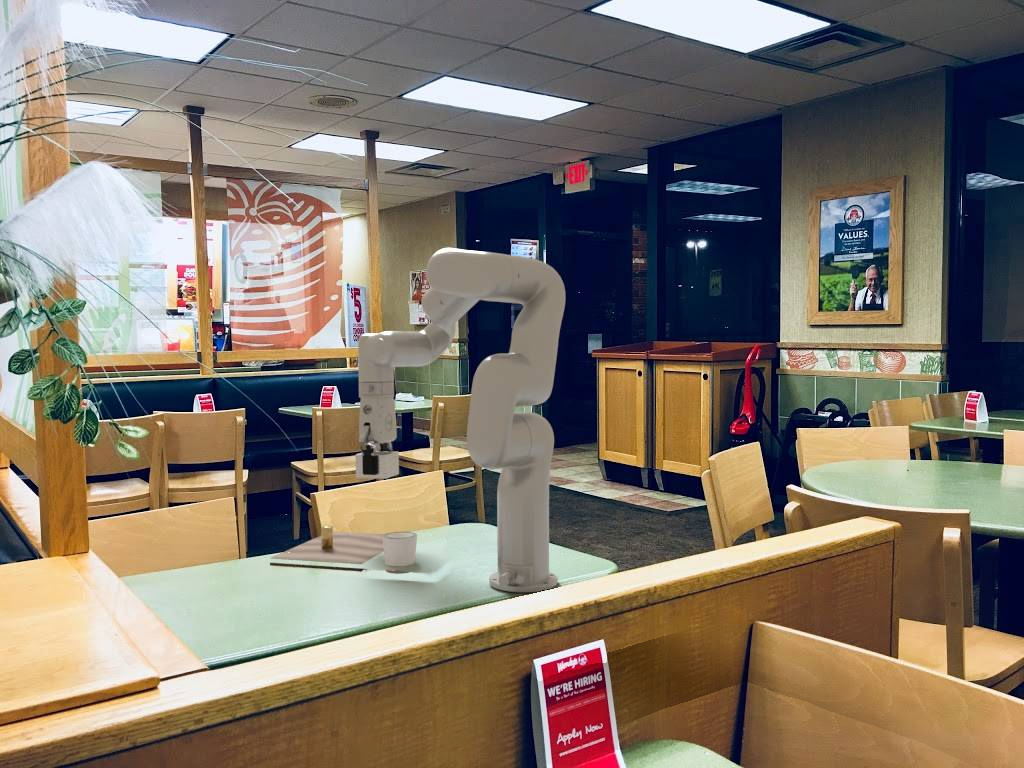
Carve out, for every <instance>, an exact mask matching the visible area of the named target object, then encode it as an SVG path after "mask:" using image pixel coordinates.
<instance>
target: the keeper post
mask: <svg viewBox="0 0 1024 768" xmlns="http://www.w3.org/2000/svg"><path fill="white" fill-rule="evenodd" d="M333 530H334V529H333V525H322V526H320V534H321V535H320V536H321V548H322V549H330V548H333V532H334V531H333Z"/></svg>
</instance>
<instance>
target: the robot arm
mask: <svg viewBox="0 0 1024 768" xmlns="http://www.w3.org/2000/svg"><path fill="white" fill-rule="evenodd" d="M425 278H426V281H427V283H428V285H429V287H430V288H429V289H427V290H426V291H425V293H424V294H423V295H422V297H421V302H420V303H421V308H422V312H424V314H425V316H426V317H427V318H428V320H429V321H430V322H429V323H428V324H427V325H426V326H425V327H424V328H423V329H422V330H420V331H408V330H407V331H402V330H399V331H398V330H385V331H381V332H377V333H374V332H373V333H372V332H371V333H363V334H361V335H360V336H359V337H358V342H357V345H358V346H357V349H358V351H357V352H358V353H357V355H358V359H357V360H358V363H357V364H358V398H360V401H359V402H360V404H359V418H358V419H359V421H358V429H359V430H358V433H359V437H358V443H359V445H360V450H361V452H360V453H361V454H362V460H363V474H364V475H377V473H378V467H377V456H375V455H376V451H377V450H378V451H393V444H394V441H395V440H396V439H397V438H398V434H397V433H398V430H397V416H396V405H395V404H396V403H395V399H394V397H395V382H394V380H395V375H394V373H395V371H394V370H395V369H394V368H404V367H406V368H407V367H408V368H410V367H411V368H414V367H415V368H418V367H424V366H427V365H429V364H432V363H433V362H435V361H436V360H437V359H438V358H439V357H440V356H441V355H442V354H444V352H446V351H447V350H448V348H449V347H450V346H451V344H452V342H453V340H454V336H455V333H456V327H457V326H456V323H457V322H458V321H460V319H461V318H462V317H463V316H464V315H466V313H467V312H469V311H470V309H471V308H473V307H474V306H475V305H476V304H477V303H478V302H479V301H486V302H498V303H499V302H500V303H508V304H509V303H510V304H512V303H513V304H520V305H522V307H523V308H522V309H521V310H520V312H519V314H518V315H517V317H516V319H515V322H514V324H513V327H512V330H511V331H512V332H511V341H510V346H509V351H508V353H506V352H505V353H501V352H500V353H495V354H492V355H489V356H487V357H486V358H484V359H483V360H482V361H481V362H480V363H479V365H478V366H477V368H476V371H475V373H474V375H473V379H472V384H471V385H472V386H471V392H470V401H469V411H468V420H467V426H466V427H467V429H466V446H467V451H468V455H469V456H470V459H471V460H472V461H473V462H474V463H475V464H476V465H477V467H478V466H479V467H480V468H482V469H487V470H496V469H501V471H500V475H499V478H498V482H497V493H496V495H497V499H496V502H497V503H496V507H497V509H496V510H497V511H496V512H497V513H496V518H497V520H496V521H497V522H496V523H497V528H496V529H497V543H496V544H497V572H494V573H492V574H491V575H490V576H489V578H488V579H489V581H488V582H489V585H490V586H491V587H492V588H494V589H496V590H499V591H504V592H510V593H538V592H543V591H542V590H544V591H547V589H548V590H550V589H553V588H555V587H556V586H557V584H558V576H557V575H556V574H555V573H554V572H552V571H550V474H551V466H552V465H551V464H552V459H553V453H554V446H555V435H554V431H553V427H552V426H551V423H549V421H548V420H547V419H546V418H545V417H543V416H542V415H541V414H538V413H536V412H529V411H517V412H515V411H516V408H518V407H519V408H520V407H530V406H531V407H532V406H537V405H540V404H541V405H542V404H543V403H545V402H546V401H547V400H548V399H549V398H550V396H551V394H552V392H553V391H552V390H553V387H554V380H555V379H554V378H555V372H556V364H557V358H558V357H557V356H558V347H559V338H560V333H561V332H560V330H561V326H562V320H563V318H564V311H565V306H566V289H565V284H564V282H563V280H562V277H561V275H559V272H557V270H555V268H554V267H552V266H551V265H549V264H548V263H546V262H544V261H541V260H539V259H536V258H532V257H526V256H520V255H519V256H518V255H512V254H505V253H500V252H499V253H498V252H491V251H479V250H468V249H461V248H455V247H444V248H442V249H439V250H437V251H436V252H435V253H434V254H432V255H431V257H430V258H429V260H428V262H427V265H426V269H425Z"/></svg>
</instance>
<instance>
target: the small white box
mask: <svg viewBox="0 0 1024 768" xmlns="http://www.w3.org/2000/svg"><path fill="white" fill-rule="evenodd" d="M361 453H362V452H360V453H356V454H355V478H356V479H385V480H386V479H389V478H391V477H395V476H397V475H399V474H400V465H399V464H400V459H399V458H400V457H399V454H400V453H399V451H394V450H392V451H379V450H376V455H375V456H377V467H378V473H377V475H364V474H363V460H362V454H361Z"/></svg>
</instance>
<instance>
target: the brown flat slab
mask: <svg viewBox="0 0 1024 768" xmlns="http://www.w3.org/2000/svg"><path fill="white" fill-rule="evenodd" d="M384 534H385V533H384ZM384 534H383V533H364V532H363V533H362V532H349V531H348V532H346V531H345V532H344V531H333V548H330V549H322V548H321V535H319V536H318V537H315V538H313V539H310V540H307V541H306V542H303V543H301V544H299V545H297V546H294V547H292V548H289V549H288V550H285V551H283V552H281V553H279V554H275V555H274V556H271V557H270V559H273V560H274V559H276V560H288V561H289V560H290V561H305V562H307V561H308V562H320V563H321V562H323V563H335V564H336V563H338V564H353V565H354V564H356V565H362V564H364V563H365V562H368V561H369V560H371V559H372V558H374V557H376V556H378V555H380V554H381V553H384V547H383V537H382V536H383V535H384ZM288 552H290V553H288ZM269 566H273V567H289V568H301V569H302V568H305V569H317V570H331V571H332V570H333V571H335V570H336V571H348V572H349V571H350V572H363V571H365V568H361V567H360V568H358V567H346V566H345V567H344V566H343V567H342V566H329V565H328V566H327V565H316V564H315V565H312V564H297V563H285V562H284V563H281V562H269Z"/></svg>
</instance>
